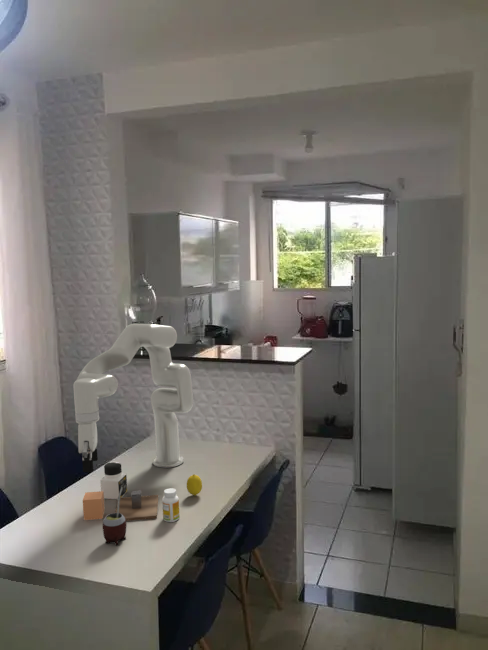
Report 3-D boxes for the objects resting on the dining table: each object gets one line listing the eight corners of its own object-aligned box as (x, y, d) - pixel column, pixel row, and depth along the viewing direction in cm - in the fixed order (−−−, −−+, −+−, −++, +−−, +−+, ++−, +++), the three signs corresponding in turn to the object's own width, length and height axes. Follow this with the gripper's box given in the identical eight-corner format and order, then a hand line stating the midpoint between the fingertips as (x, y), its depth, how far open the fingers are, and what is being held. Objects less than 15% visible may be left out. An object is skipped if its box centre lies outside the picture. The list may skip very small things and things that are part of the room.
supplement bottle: (179, 513, 189) (177, 486, 188) (180, 521, 184) (178, 493, 183) (162, 515, 188) (161, 488, 187) (163, 523, 183) (162, 495, 182)
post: (132, 504, 195) (132, 491, 194) (141, 504, 195) (140, 490, 194) (132, 508, 192) (131, 494, 191) (141, 508, 192) (140, 494, 192)
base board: (118, 500, 201) (118, 497, 201) (158, 497, 202) (158, 494, 202) (113, 522, 185) (113, 519, 185) (156, 518, 187) (156, 515, 186)
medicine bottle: (119, 499, 201) (117, 467, 200) (101, 498, 203) (98, 466, 201) (127, 491, 208) (125, 460, 207) (109, 490, 210) (107, 459, 208)
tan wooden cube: (86, 511, 193) (85, 492, 192) (104, 510, 193) (103, 491, 192) (84, 520, 187) (82, 500, 186) (102, 518, 188) (101, 498, 187)
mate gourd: (106, 549, 168) (102, 501, 166) (101, 537, 176) (98, 491, 173) (130, 543, 171) (127, 496, 169) (125, 531, 178) (122, 486, 176)
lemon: (183, 496, 203) (182, 475, 202) (195, 491, 207) (194, 470, 206) (194, 500, 199) (193, 478, 198) (205, 495, 203) (204, 474, 202)
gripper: (80, 409, 193) (83, 457, 196) (70, 424, 176) (74, 477, 179) (102, 408, 194) (105, 456, 196) (95, 423, 177) (98, 475, 179)
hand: (90, 466), depth 188 cm, fingers open, 9 cm apart
